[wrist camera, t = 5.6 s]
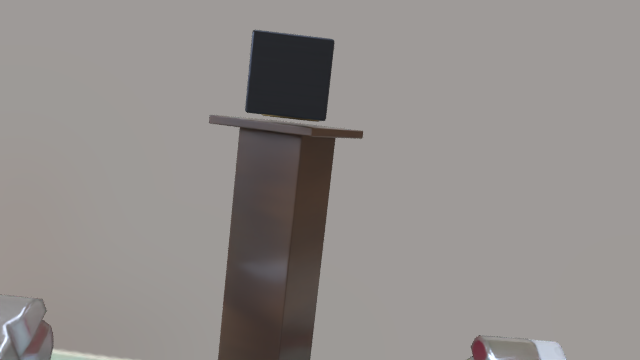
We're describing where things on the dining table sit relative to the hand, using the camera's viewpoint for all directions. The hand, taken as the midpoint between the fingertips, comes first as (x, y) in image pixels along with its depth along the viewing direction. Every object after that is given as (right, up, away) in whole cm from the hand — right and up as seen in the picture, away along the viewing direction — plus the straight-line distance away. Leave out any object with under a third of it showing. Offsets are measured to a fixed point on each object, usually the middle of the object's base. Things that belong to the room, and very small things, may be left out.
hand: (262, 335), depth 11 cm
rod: (0, +6, +16) cm, 17 cm away
